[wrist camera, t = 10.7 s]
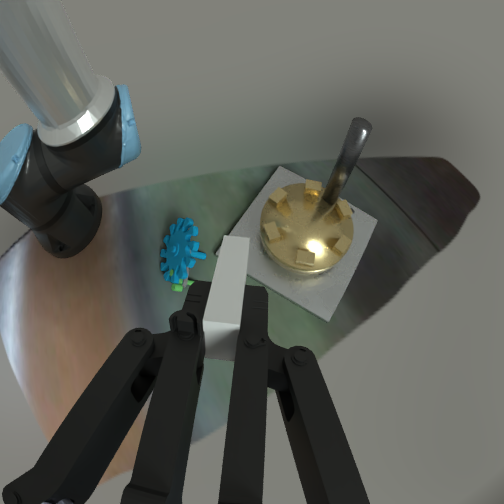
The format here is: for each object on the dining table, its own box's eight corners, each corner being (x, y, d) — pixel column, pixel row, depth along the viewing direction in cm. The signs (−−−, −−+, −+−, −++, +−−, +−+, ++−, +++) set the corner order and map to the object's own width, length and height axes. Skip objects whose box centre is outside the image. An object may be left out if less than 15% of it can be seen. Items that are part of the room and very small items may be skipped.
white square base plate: (216, 256, 45) (214, 250, 42) (279, 169, 51) (280, 160, 48) (326, 322, 41) (331, 320, 39) (375, 223, 47) (381, 216, 45)
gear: (161, 222, 45) (194, 208, 38) (190, 231, 49) (227, 220, 42) (153, 289, 43) (185, 289, 36) (184, 294, 47) (221, 294, 40)
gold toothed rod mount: (314, 293, 40) (361, 245, 22) (240, 234, 43) (234, 154, 25) (364, 226, 43) (417, 155, 26) (296, 176, 47) (315, 90, 29)
